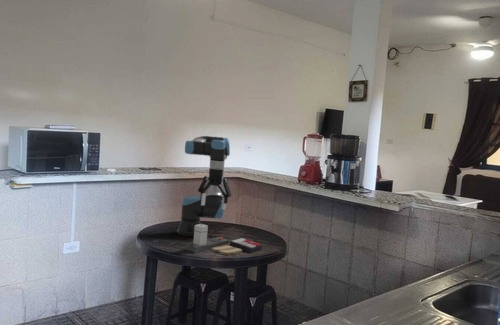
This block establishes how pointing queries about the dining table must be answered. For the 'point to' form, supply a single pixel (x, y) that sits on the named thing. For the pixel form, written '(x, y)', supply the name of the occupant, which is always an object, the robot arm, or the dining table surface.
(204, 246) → the grey handheld radio
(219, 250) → the wooden board
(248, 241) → the calculator
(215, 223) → the dining table surface
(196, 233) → the block
